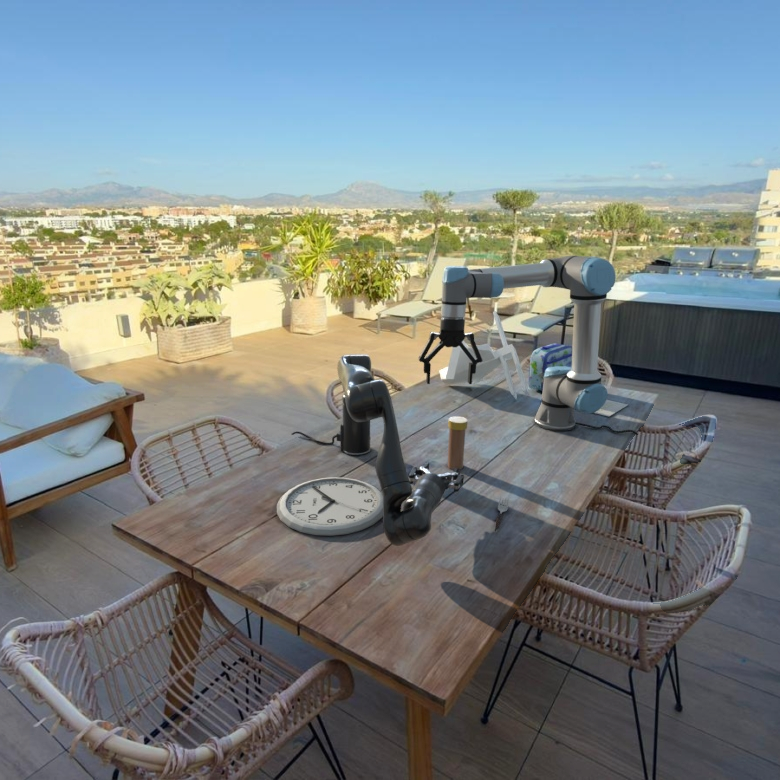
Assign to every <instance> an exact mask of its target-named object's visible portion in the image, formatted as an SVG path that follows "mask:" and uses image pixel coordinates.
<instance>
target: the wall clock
mask: <svg viewBox="0 0 780 780" xmlns="http://www.w3.org/2000/svg"><path fill="white" fill-rule="evenodd" d="M276 515H277V517H278V518H279V520H280V521H281V522H282V523H283V524H285V525H286V526H287V527H288V528H290V529H293V530H295V531H297V532H299V533H303V534H308V535H312V536H327V537H328V536H329V537H331V536H332V537H333V536H342V535H350V534H352V533H356V532H361V531H363V530H366V529H368V528H369V527H372V526H373V525H375V524H376V523H378V522H379V521H380V520H381V519H382V518H383V496H382V492H381V489H380V488H377V487H376V486H374V485H372V484H371V483H369V482H365V481H362V480H359V479H355V478H349V477H338V476H337V477H335V476H333V477H332V476H331V477H322V478H317V479H312V480H307V481H305V482H302V483H299V484H297V485H295V486H293V487H292V488H290V489H288V490H287V491H286V492H285V493H284V494H283V495H281V496H280V498H279V499H278V502H277V503H276Z"/></svg>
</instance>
